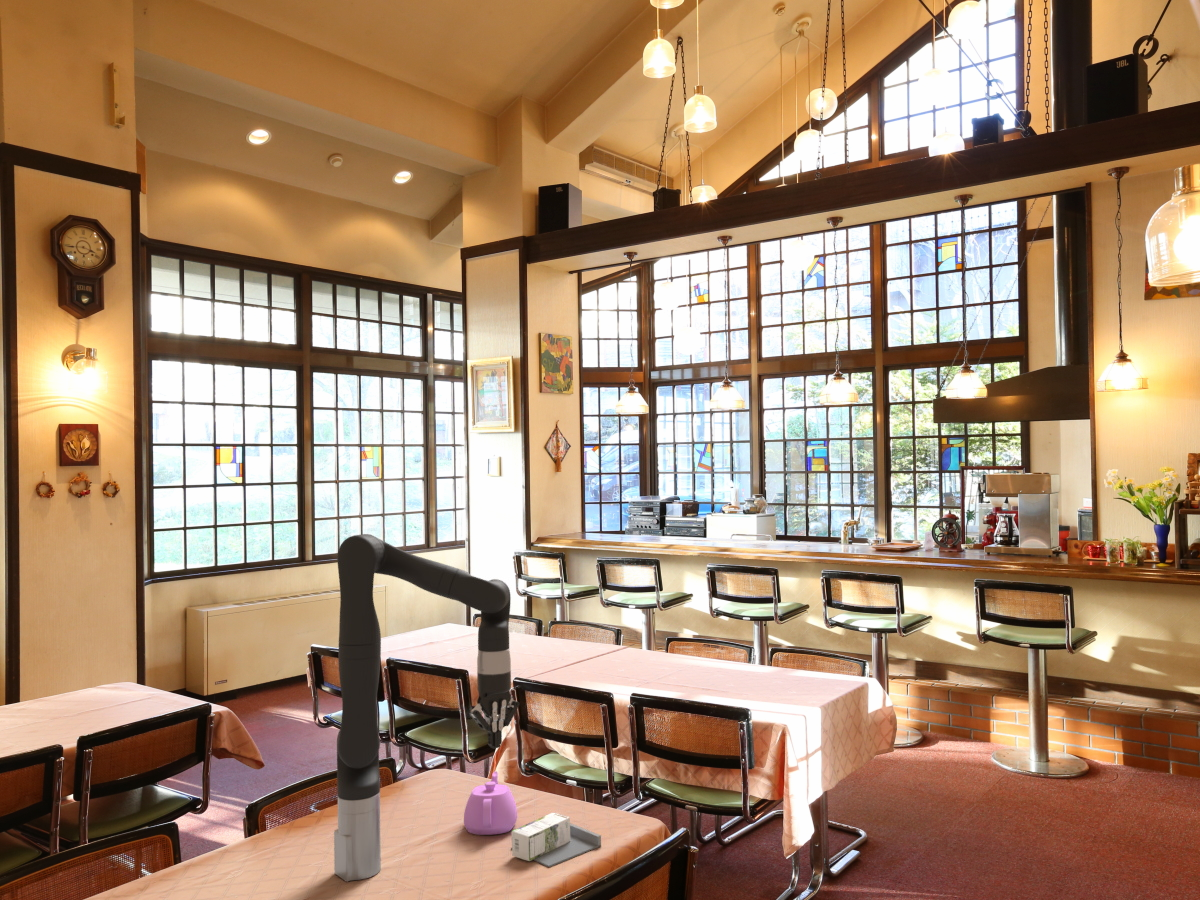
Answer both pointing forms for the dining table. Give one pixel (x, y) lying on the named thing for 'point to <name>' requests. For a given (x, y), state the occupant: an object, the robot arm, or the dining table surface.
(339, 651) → the robot arm
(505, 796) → the teapot
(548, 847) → the syrup box
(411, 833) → the dining table surface
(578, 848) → the board with raised edge
